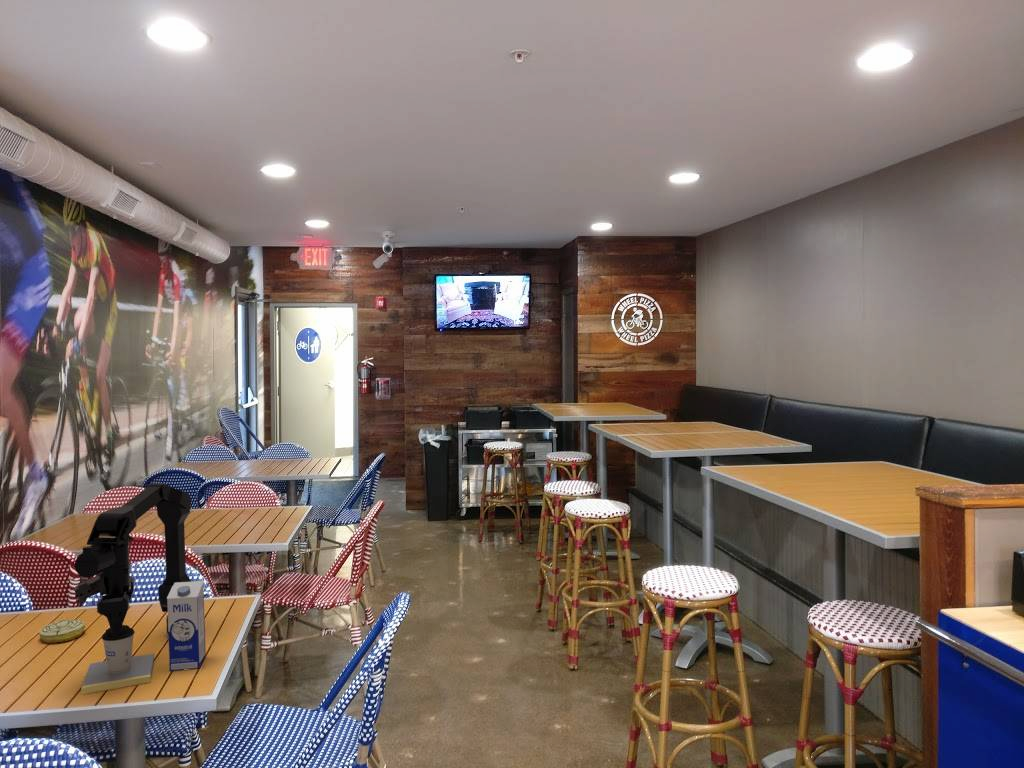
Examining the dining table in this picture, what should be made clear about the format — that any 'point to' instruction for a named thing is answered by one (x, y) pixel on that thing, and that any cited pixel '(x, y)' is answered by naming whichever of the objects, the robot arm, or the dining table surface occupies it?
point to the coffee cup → (118, 649)
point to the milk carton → (186, 625)
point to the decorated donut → (62, 631)
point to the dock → (118, 675)
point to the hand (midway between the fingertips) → (117, 628)
